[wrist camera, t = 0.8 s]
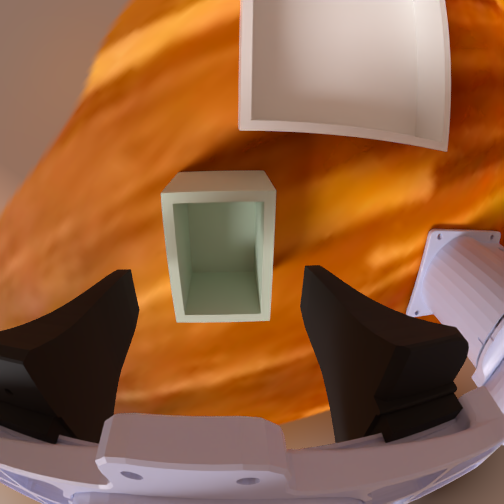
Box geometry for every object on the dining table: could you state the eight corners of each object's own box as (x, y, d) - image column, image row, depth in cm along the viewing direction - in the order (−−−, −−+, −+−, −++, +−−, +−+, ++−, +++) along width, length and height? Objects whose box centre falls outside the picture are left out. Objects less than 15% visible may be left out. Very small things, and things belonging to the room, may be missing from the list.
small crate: (178, 171, 17) (160, 193, 12) (263, 170, 17) (276, 190, 13) (186, 275, 20) (176, 322, 15) (260, 274, 20) (269, 320, 16)
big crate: (413, -8, 12) (441, -21, 9) (416, 143, 17) (447, 151, 14) (241, -43, 11) (244, -70, 8) (238, 128, 16) (240, 130, 13)
